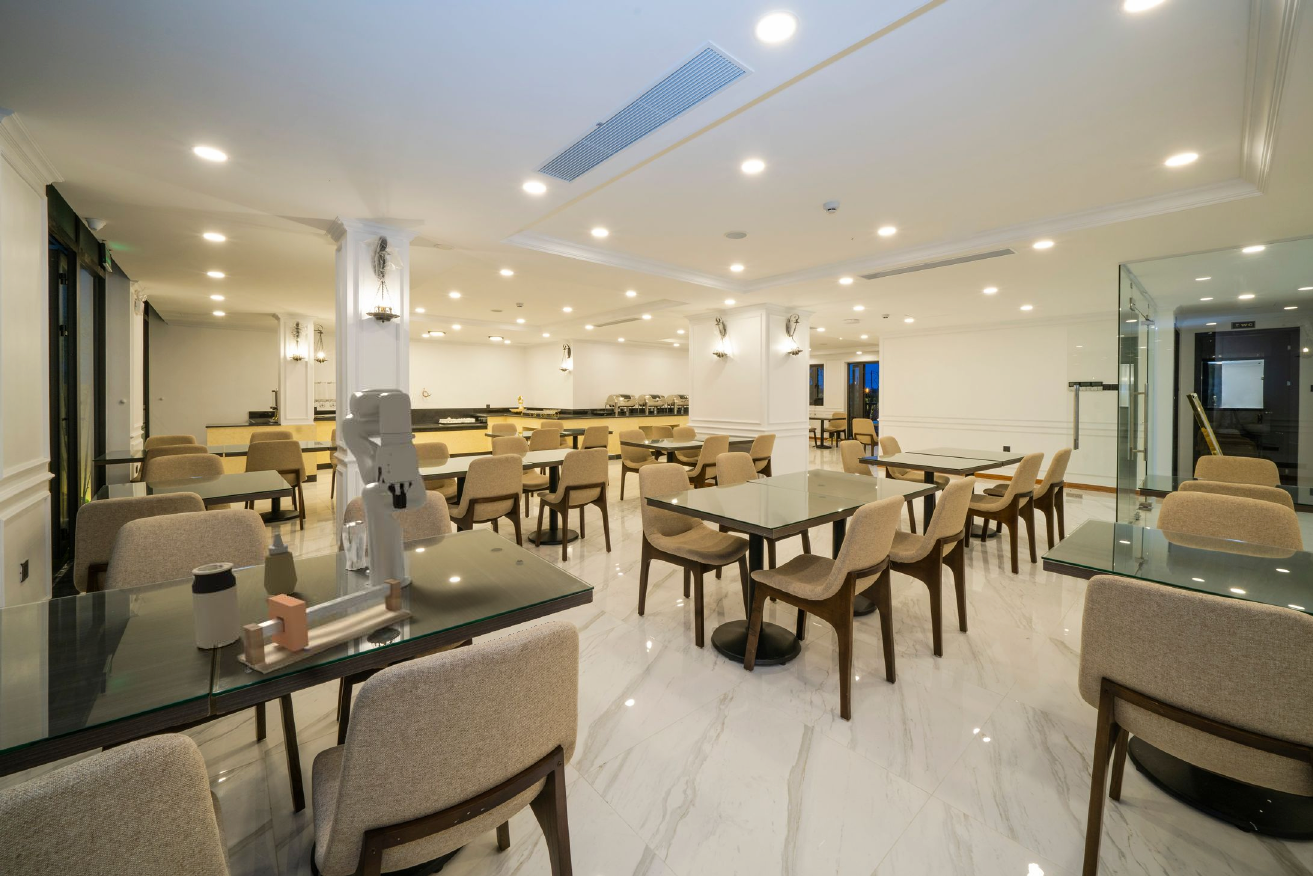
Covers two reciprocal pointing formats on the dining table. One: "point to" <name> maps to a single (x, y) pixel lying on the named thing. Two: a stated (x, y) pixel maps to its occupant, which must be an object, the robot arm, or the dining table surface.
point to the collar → (289, 621)
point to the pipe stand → (325, 626)
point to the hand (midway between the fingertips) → (400, 508)
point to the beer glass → (354, 544)
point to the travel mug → (215, 604)
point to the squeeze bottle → (279, 569)
